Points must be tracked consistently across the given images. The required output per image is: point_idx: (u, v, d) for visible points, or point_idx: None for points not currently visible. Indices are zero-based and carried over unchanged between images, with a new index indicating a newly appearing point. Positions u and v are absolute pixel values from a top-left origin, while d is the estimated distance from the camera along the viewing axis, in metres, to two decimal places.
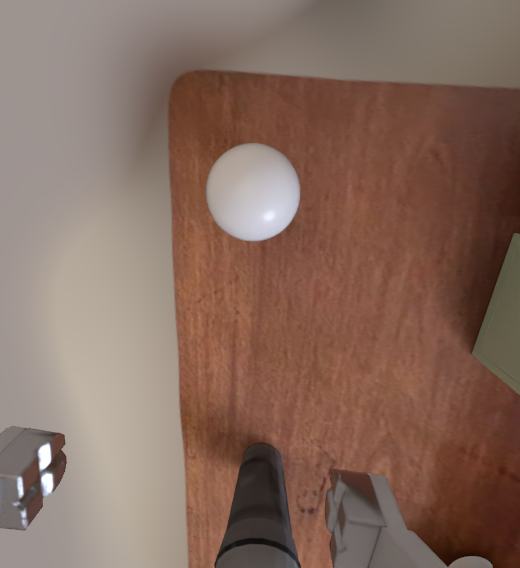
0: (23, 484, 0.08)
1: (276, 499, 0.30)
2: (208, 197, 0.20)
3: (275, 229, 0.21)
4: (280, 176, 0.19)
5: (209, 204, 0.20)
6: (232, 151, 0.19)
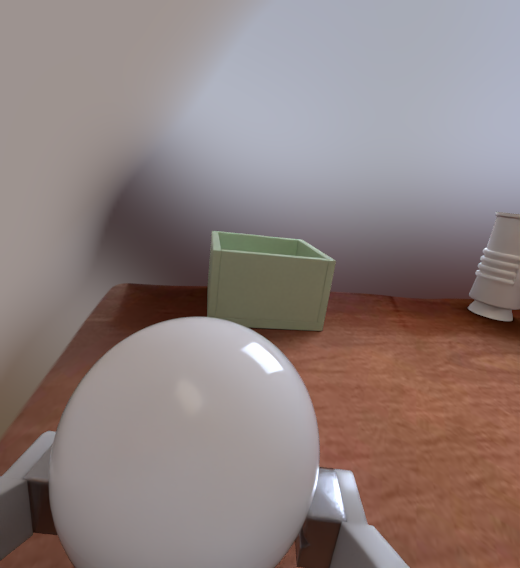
0: None
1: None
2: (225, 487, 0.05)
3: None
4: None
5: (249, 484, 0.06)
6: (69, 434, 0.06)
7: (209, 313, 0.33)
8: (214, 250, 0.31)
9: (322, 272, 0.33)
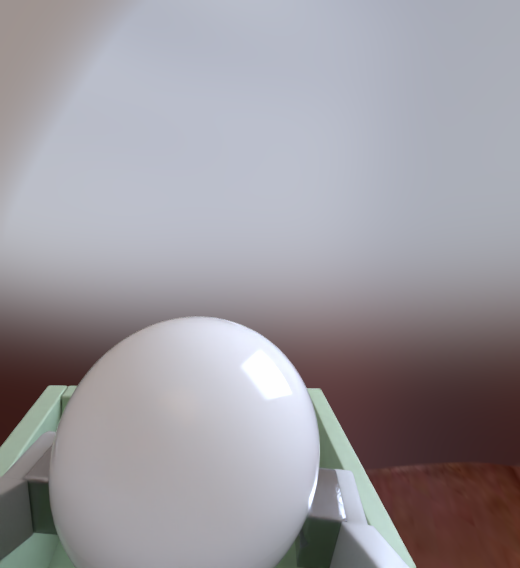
0: None
1: None
2: (225, 487, 0.05)
3: None
4: None
5: (249, 484, 0.06)
6: (69, 434, 0.06)
7: None
8: None
9: None
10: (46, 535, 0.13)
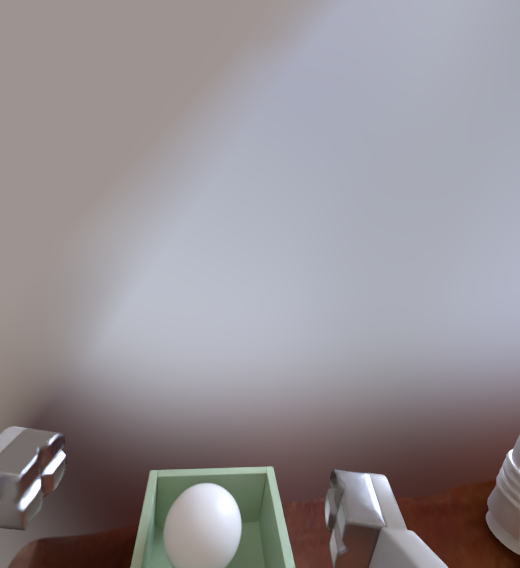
0: (23, 484, 0.08)
1: None
2: (211, 550, 0.23)
3: None
4: (190, 488, 0.27)
5: (216, 549, 0.24)
6: (172, 534, 0.24)
7: None
8: None
9: None
10: (152, 536, 0.31)
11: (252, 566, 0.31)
